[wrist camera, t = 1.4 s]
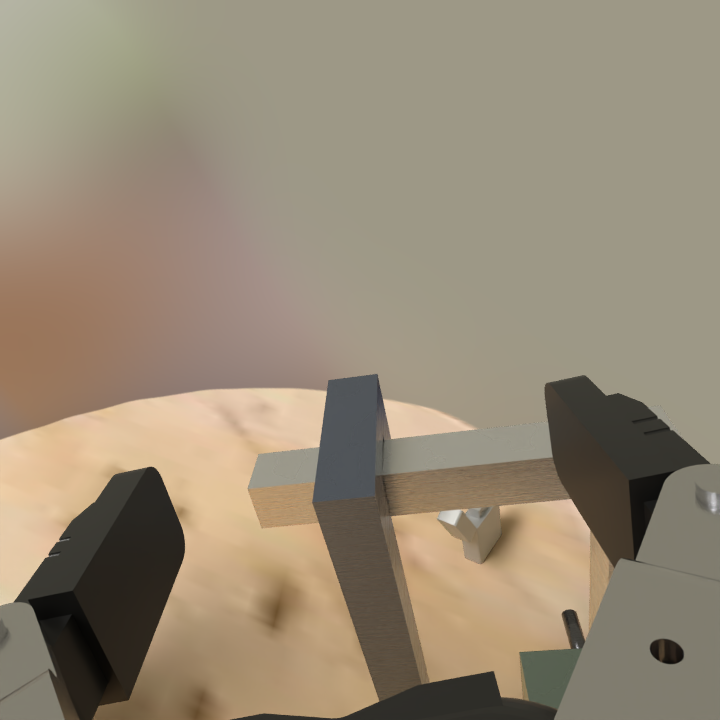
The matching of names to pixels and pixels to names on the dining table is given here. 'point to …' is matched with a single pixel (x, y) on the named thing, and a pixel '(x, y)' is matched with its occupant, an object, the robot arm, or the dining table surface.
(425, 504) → the grey tall bent post
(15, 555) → the dining table surface
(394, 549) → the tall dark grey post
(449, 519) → the lighter
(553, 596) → the dining table surface
